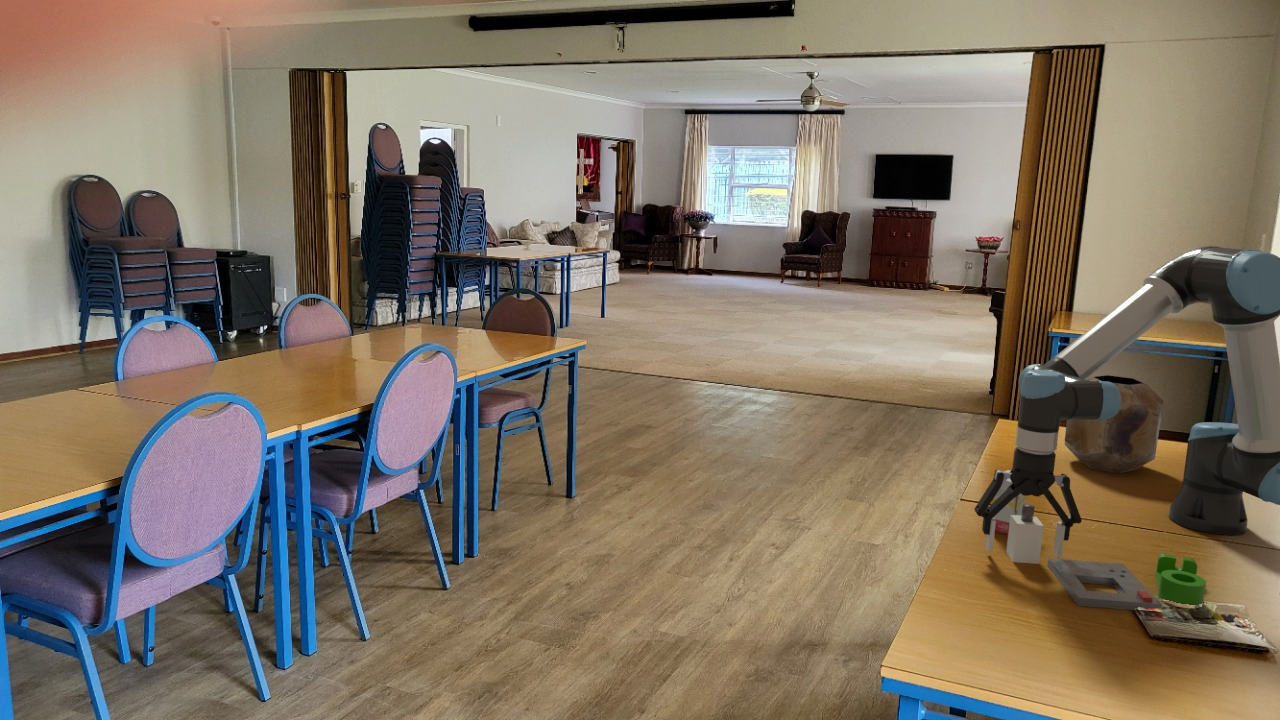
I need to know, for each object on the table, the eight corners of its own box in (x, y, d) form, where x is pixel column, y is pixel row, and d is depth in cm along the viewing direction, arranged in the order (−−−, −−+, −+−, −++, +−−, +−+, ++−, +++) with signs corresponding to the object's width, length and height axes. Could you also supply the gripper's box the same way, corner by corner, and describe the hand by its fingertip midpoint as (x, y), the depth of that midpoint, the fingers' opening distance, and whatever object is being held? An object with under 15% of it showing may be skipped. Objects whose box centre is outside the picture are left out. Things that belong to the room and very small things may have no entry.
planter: (1174, 480, 243) (1187, 391, 238) (1079, 477, 243) (1091, 387, 239) (1131, 455, 265) (1143, 373, 260) (1044, 452, 265) (1054, 370, 260)
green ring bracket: (1204, 613, 167) (1208, 589, 166) (1159, 605, 170) (1162, 581, 169) (1195, 582, 180) (1198, 559, 179) (1153, 575, 183) (1156, 552, 182)
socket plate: (1122, 571, 183) (1123, 561, 183) (1160, 612, 166) (1162, 601, 165) (1047, 565, 185) (1048, 555, 185) (1078, 605, 167) (1079, 594, 167)
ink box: (1010, 536, 200) (1016, 483, 198) (987, 530, 203) (992, 477, 201) (1024, 525, 206) (1030, 474, 204) (1001, 520, 210) (1007, 469, 207)
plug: (1031, 554, 191) (1038, 502, 188) (1038, 564, 186) (1045, 511, 184) (1006, 552, 191) (1012, 500, 189) (1012, 562, 186) (1018, 509, 184)
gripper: (1094, 448, 186) (1081, 549, 190) (966, 439, 189) (955, 540, 193) (1108, 459, 179) (1093, 564, 183) (974, 450, 182) (963, 554, 186)
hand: (1022, 552), depth 188 cm, fingers open, 12 cm apart
